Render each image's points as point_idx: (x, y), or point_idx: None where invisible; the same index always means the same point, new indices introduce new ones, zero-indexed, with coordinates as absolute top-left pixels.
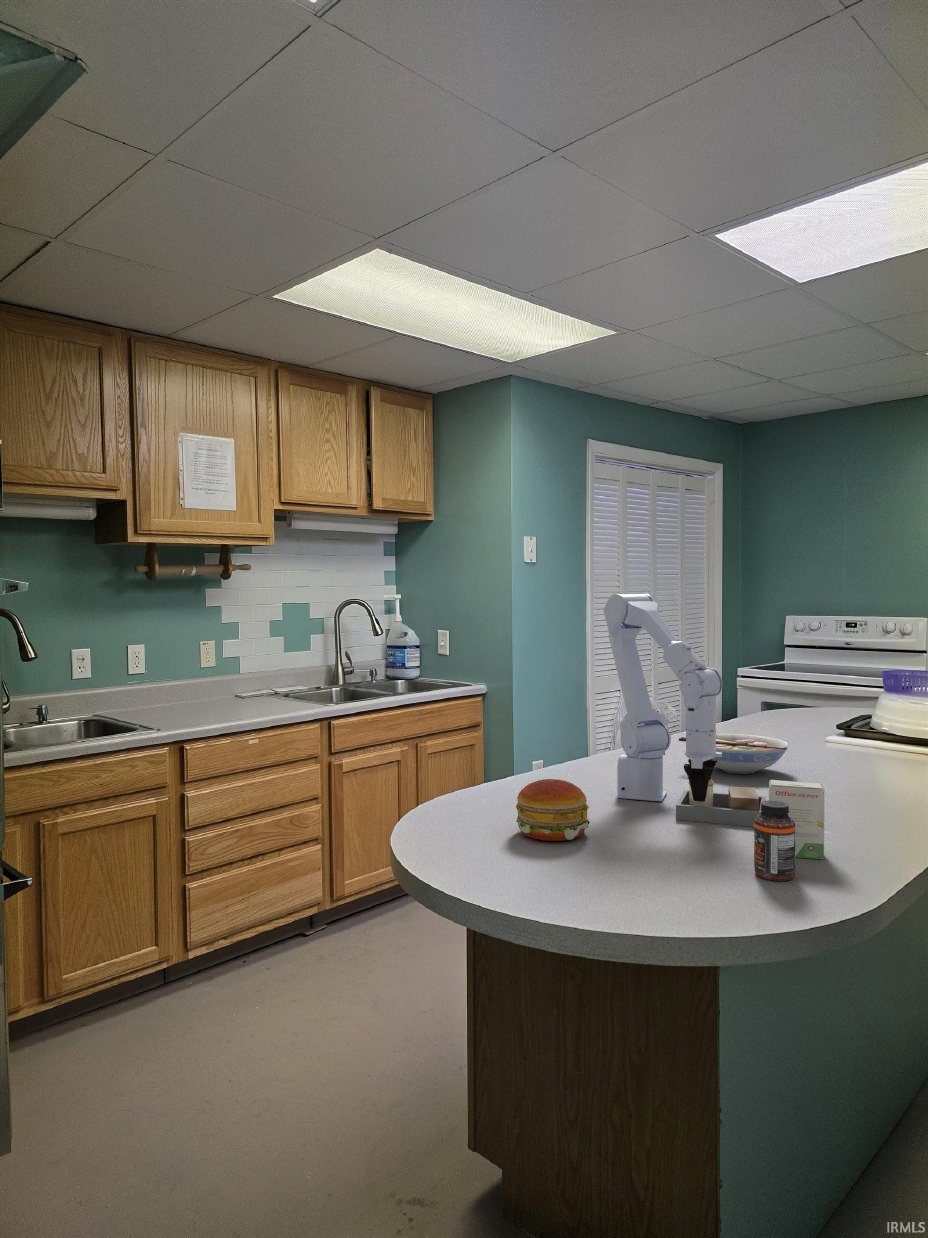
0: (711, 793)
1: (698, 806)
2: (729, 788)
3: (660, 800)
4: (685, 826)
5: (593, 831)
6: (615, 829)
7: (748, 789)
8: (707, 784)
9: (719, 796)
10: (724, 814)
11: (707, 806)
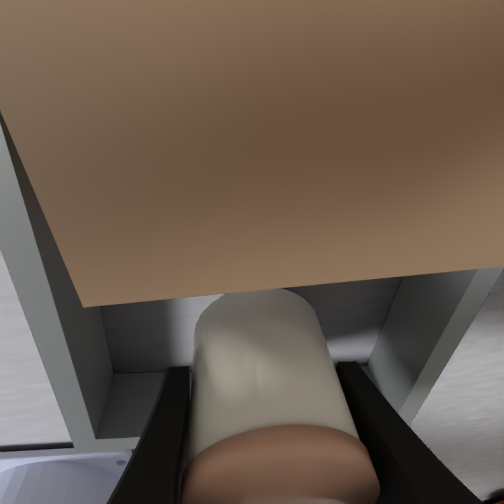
0: (315, 374)
1: (432, 367)
2: (169, 295)
3: (128, 451)
4: (473, 340)
5: (497, 480)
6: (485, 459)
7: (128, 86)
8: (449, 471)
9: (63, 295)
10: None
11: (318, 325)
